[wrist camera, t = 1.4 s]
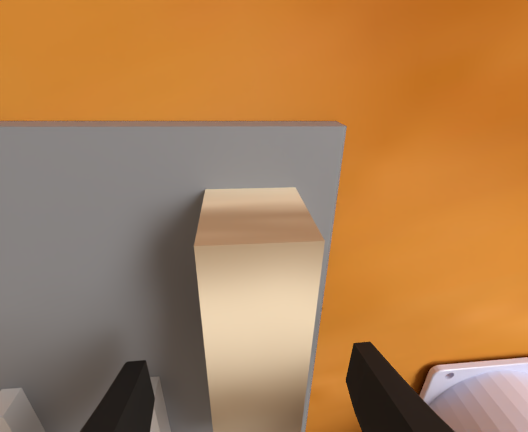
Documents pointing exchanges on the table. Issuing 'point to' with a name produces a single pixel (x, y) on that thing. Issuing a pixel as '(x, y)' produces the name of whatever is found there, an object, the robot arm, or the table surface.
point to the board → (129, 254)
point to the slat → (257, 305)
